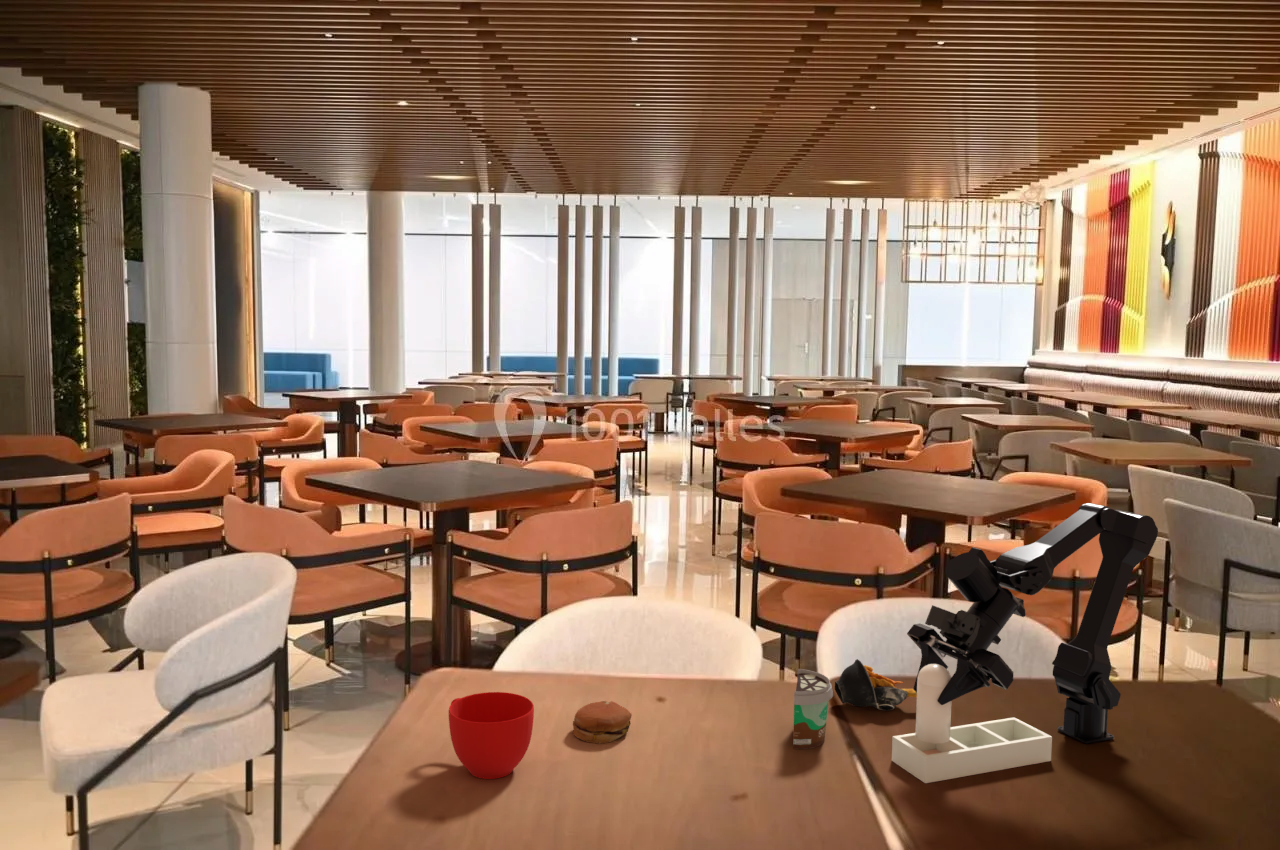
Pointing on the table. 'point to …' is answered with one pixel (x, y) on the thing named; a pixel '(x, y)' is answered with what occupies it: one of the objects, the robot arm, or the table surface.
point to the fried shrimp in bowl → (869, 688)
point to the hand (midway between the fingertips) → (927, 697)
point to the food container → (810, 709)
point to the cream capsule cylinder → (932, 705)
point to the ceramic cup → (491, 732)
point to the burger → (601, 722)
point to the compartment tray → (973, 750)
